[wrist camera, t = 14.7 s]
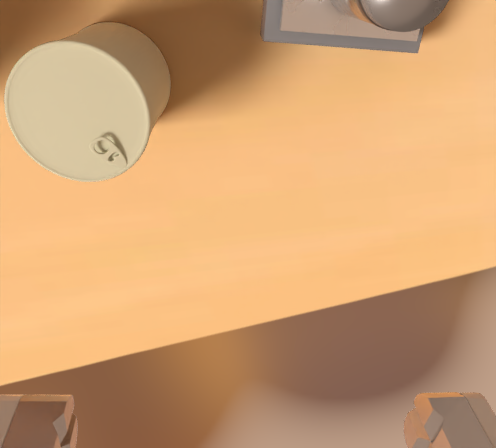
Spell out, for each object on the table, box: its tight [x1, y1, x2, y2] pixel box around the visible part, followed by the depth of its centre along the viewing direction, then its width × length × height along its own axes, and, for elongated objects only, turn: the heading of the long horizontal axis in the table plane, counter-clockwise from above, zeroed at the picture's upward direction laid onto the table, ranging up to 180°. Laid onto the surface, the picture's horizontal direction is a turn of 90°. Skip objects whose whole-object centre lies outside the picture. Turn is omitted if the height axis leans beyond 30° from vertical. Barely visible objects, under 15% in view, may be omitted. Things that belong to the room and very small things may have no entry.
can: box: [4, 22, 171, 182], centre depth 34 cm, size 9×9×12 cm
